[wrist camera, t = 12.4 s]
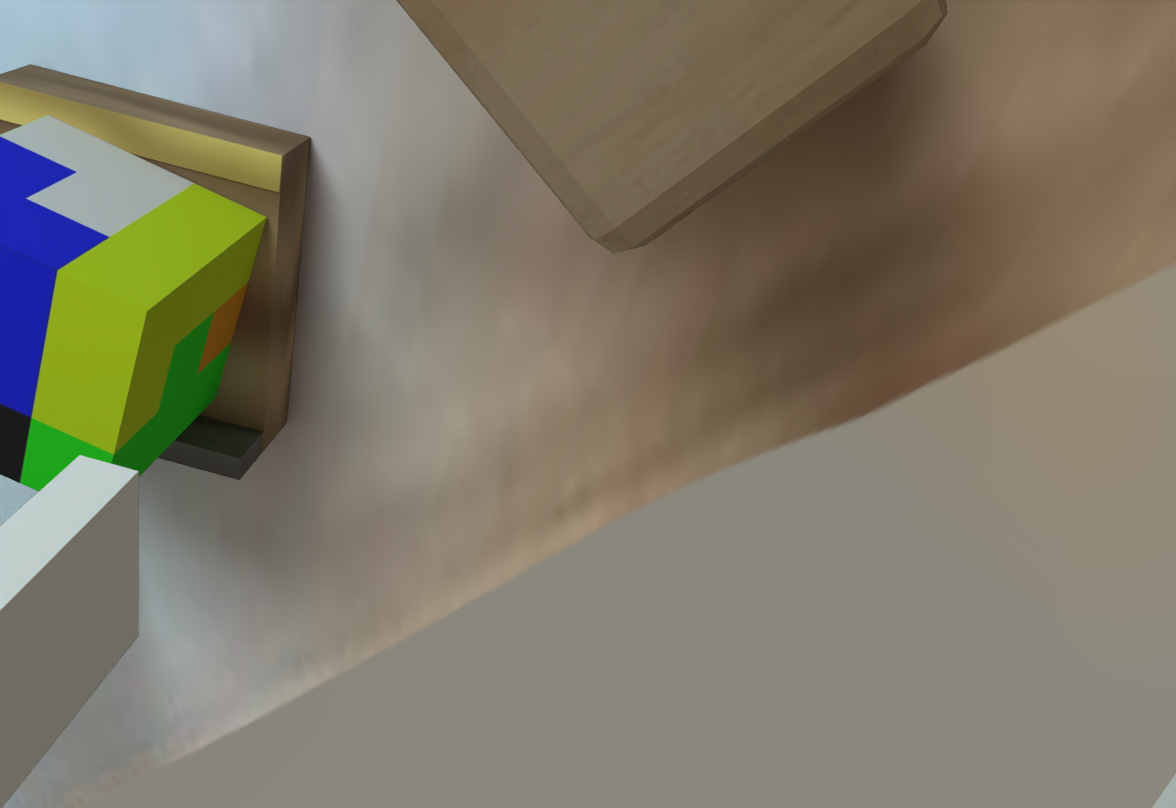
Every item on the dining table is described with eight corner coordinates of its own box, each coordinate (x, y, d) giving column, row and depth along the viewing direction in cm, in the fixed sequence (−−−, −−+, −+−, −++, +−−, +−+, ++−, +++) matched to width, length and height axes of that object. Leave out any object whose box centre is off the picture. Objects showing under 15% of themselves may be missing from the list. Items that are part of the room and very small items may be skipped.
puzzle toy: (48, 114, 46) (-125, 186, 37) (267, 216, 46) (147, 311, 38) (17, 308, 51) (-142, 411, 42) (215, 398, 51) (99, 517, 43)
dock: (30, 64, 48) (-53, 91, 43) (310, 137, 48) (257, 172, 43) (44, 356, 55) (-26, 407, 51) (286, 422, 55) (239, 480, 50)
